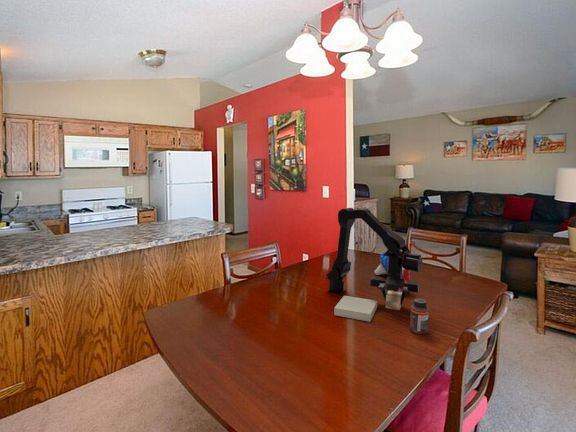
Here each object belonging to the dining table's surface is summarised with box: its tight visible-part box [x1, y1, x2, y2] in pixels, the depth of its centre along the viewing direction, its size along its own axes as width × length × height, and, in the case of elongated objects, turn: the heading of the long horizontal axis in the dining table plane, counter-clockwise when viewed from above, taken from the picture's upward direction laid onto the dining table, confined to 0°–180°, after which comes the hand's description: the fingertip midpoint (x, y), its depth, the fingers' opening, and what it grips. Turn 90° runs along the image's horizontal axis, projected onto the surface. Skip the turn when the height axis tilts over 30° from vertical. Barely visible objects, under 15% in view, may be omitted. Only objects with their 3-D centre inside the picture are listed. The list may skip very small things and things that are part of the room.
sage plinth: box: [333, 295, 378, 323], centre depth 134 cm, size 14×14×3 cm
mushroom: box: [373, 252, 388, 276], centre depth 177 cm, size 14×14×15 cm
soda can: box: [394, 267, 411, 293], centre depth 153 cm, size 7×7×12 cm
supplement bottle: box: [409, 298, 430, 335], centre depth 117 cm, size 6×6×11 cm
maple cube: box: [385, 290, 402, 311], centre depth 138 cm, size 6×6×6 cm
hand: (393, 303), depth 138 cm, fingers closed on maple cube, 5 cm apart
